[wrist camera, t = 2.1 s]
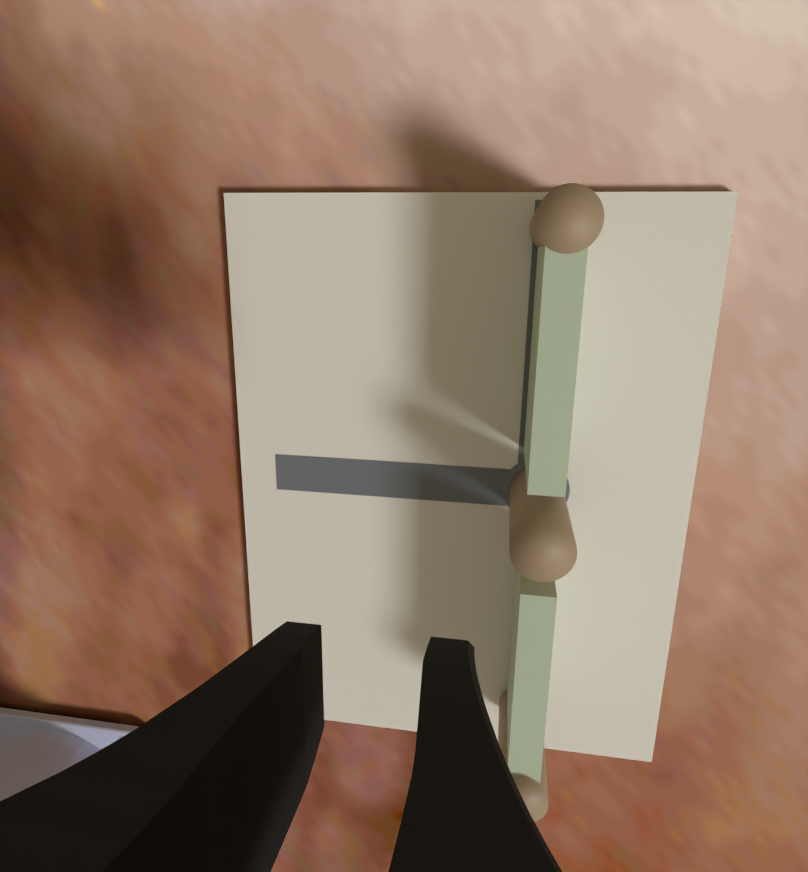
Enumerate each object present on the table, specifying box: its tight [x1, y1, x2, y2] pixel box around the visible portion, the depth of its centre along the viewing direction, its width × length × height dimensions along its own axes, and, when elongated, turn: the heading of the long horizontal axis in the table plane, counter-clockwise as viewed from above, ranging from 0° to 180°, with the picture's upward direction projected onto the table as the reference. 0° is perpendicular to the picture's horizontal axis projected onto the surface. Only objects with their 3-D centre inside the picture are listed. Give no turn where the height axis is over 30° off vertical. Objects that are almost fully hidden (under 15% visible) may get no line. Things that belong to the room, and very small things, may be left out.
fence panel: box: [498, 570, 557, 822], centre depth 18 cm, size 1×7×4 cm, turn 0°
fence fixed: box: [509, 183, 604, 582], centre depth 16 cm, size 2×9×4 cm, turn 0°
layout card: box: [224, 191, 738, 762], centre depth 20 cm, size 14×18×1 cm
